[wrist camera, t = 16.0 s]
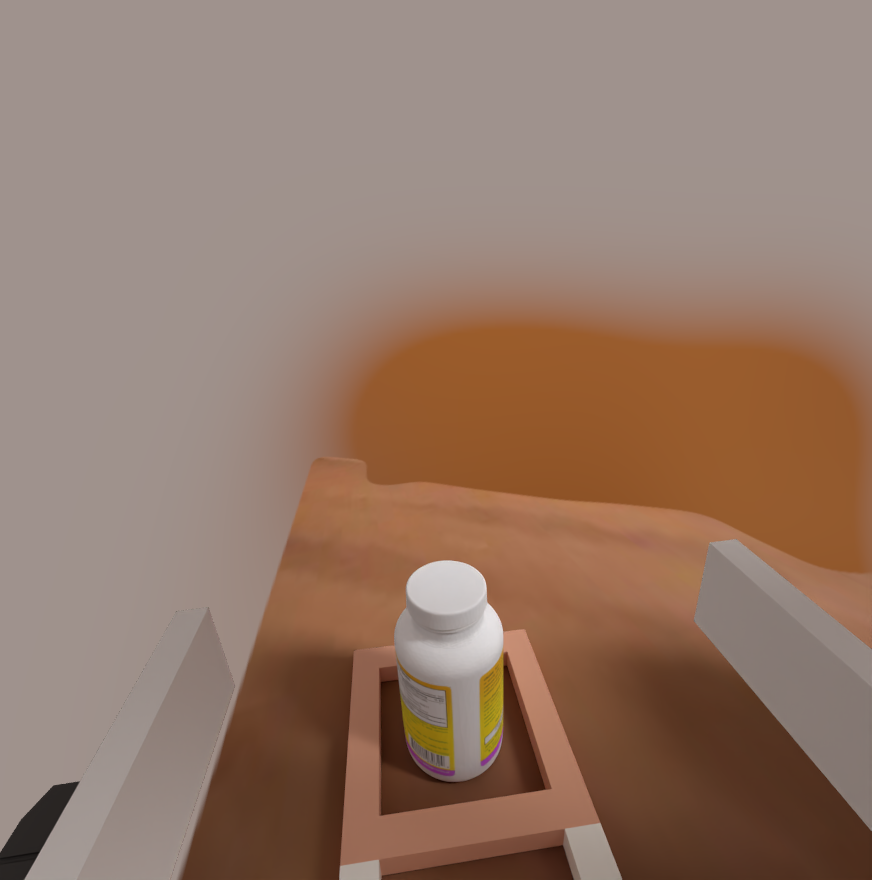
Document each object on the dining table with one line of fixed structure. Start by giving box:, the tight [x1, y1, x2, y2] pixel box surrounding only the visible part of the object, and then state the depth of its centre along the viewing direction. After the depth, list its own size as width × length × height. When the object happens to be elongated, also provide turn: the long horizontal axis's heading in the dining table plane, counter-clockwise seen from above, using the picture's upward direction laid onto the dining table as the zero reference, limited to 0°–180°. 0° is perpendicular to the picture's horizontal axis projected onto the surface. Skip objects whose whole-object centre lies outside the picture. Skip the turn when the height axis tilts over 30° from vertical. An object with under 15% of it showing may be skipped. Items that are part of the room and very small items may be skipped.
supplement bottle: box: [394, 561, 503, 782], centre depth 29 cm, size 7×7×13 cm
